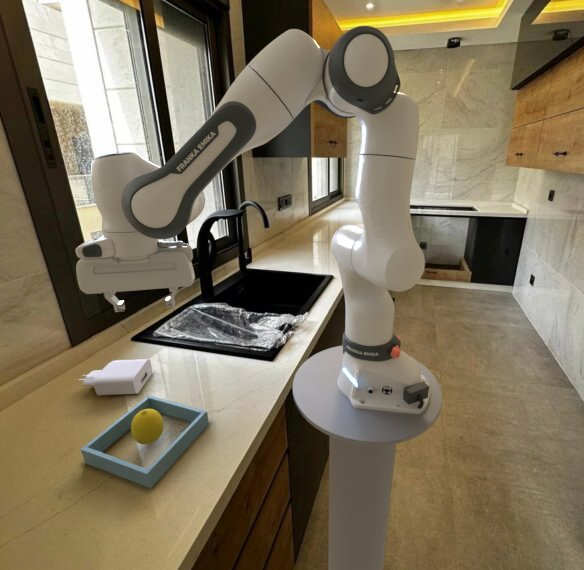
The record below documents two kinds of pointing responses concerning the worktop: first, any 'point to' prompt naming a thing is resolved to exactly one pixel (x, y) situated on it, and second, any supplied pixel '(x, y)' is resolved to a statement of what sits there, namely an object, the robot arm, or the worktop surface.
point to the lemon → (147, 426)
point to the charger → (120, 377)
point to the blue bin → (164, 461)
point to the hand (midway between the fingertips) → (146, 308)
